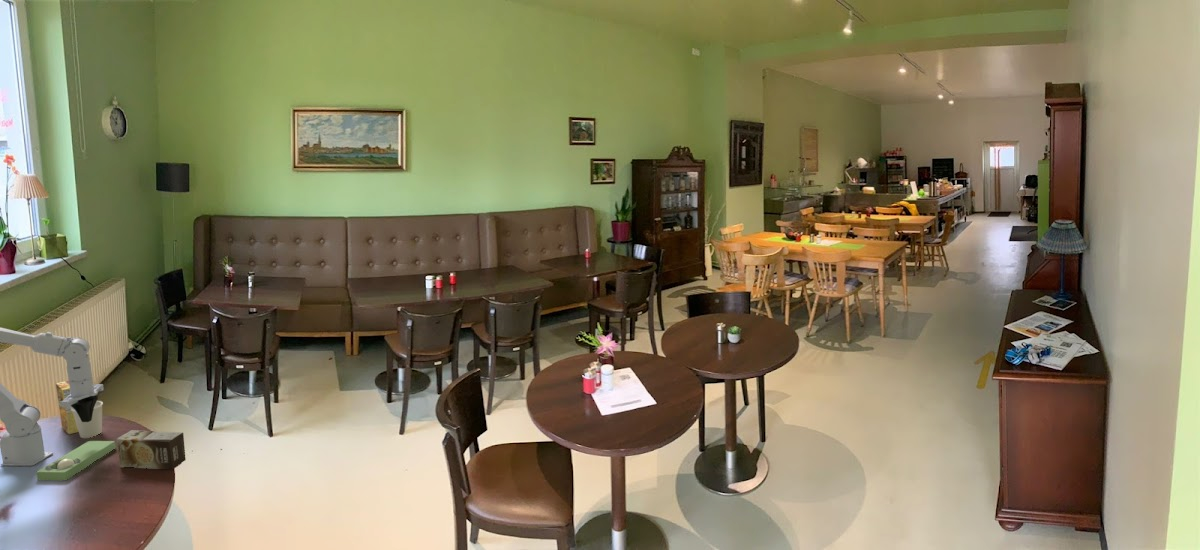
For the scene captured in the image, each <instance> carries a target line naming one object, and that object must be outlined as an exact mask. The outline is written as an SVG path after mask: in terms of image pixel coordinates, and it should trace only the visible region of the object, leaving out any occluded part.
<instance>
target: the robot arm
mask: <svg viewBox="0 0 1200 550" xmlns="http://www.w3.org/2000/svg"><path fill="white" fill-rule="evenodd" d="M0 343H5V344H10V345H18V346H22V347H23V346H25V347H30V349H31V350H32V351H33V352H34V353H39V354H42V355H49V356H53V357H54V356H55V357H60V358H61V357H62V358H63V359H64V360H65V361H66V371H67V378H68V380H67V381H69V386H70V393H71V394H70V395H69V396H68V397H67V398H66V399H64V400H63V401H61V406H62V408H69V407H71V406H72V407H73V408H74V409H75V411H76V412H77V413H78V415H79V417H80V419H81V421H82V422H89V421H91V420H92V415H93V409H94V406H95V404H96V401H99V398H98V393H99V392H102V391H104V390H105V389H104V384H103V383H96V384H94V379H93V378H94V377H93V373H92V365H91V362H90V357H89V354H88V353H89V351H90V343H89V342H88V341H87V340H86V339H84V338H81V337H78V336H76V337H73V338H72V336H67V337H65V336H59V335H54V334H53V332H51V331H47V332H46V333H44V332H40V333H38V334H34V335H33V334H31V333H30V334H29V333H25V332H21V331H16V330H12V329H9V328H5V327H0ZM41 415H42V413H41V411H40V410H39V408H38V407H36V406H34V405H32V404H29V403H27V401H25V400H24V399H19V398H17V397H16V396H15V395H14V394H13V393H12V392H11V391H10V390H9V389H7V388H6V386H4V385H3V384H2V383H1V382H0V421H1V422H2V423H3V424H4V426H5V430H6V431H7V432H5V433H4V434H3V435H2V436H1V438H0V453H1V454H0V455H1V459H2V462H0V466H13V467H14V466H22V467H24V466H25V467H27V466H30V467H33V466H34V465H36V464H38V463H40V462H41V461H44V460H45V459H47V458H48V457H51V456H52V455H53V454H54V453H53V451H45V446H44V439H43V433H42V427H41V425H39V423H38V422H39V420H40V418H41Z"/></svg>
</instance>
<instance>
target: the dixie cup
mask: <svg viewBox="0 0 1200 550" xmlns="http://www.w3.org/2000/svg"><path fill="white" fill-rule="evenodd" d="M103 405H104V402H103V401H102V400H97V401H96V404H95V406H94V409H93V415H92V420H91V421H89V422H82V421H81V419H80V417H79V415H78V413H77V412H76V411H75V409H74V408H73V407H71V410H72V412H73V415H74V419H75V422H76V425H77V428H78V431H79V432H78V434H79V437H80V438H81V439H89V438H90V437H91V438H94V437H93V436H95V437H97V436H96V435H98V434H100V433H101V432H102V433H103ZM102 433H101V434H102ZM101 434H100V435H101ZM98 436H99V435H98ZM91 438H90V439H91Z"/></svg>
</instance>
